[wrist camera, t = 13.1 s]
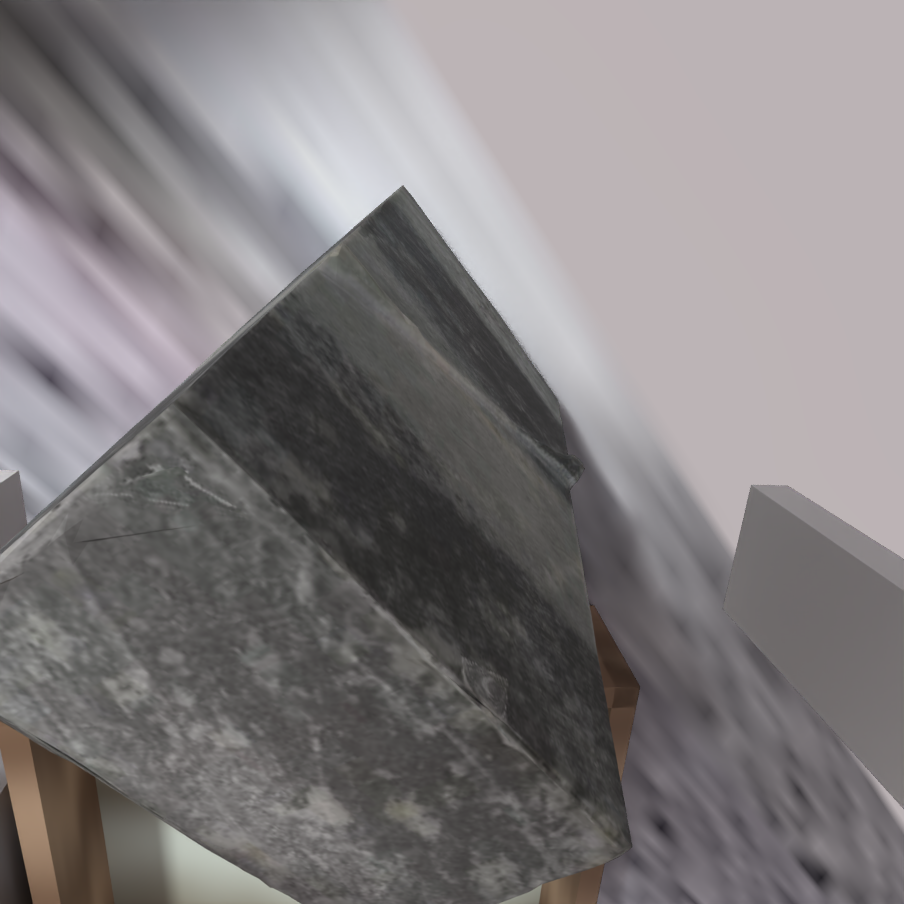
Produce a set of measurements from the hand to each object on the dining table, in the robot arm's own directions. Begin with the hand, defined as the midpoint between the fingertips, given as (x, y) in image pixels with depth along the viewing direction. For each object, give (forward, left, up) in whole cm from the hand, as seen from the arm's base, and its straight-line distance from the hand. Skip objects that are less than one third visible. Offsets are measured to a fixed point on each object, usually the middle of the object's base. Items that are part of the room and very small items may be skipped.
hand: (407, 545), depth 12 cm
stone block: (0, 0, -10) cm, 10 cm away
